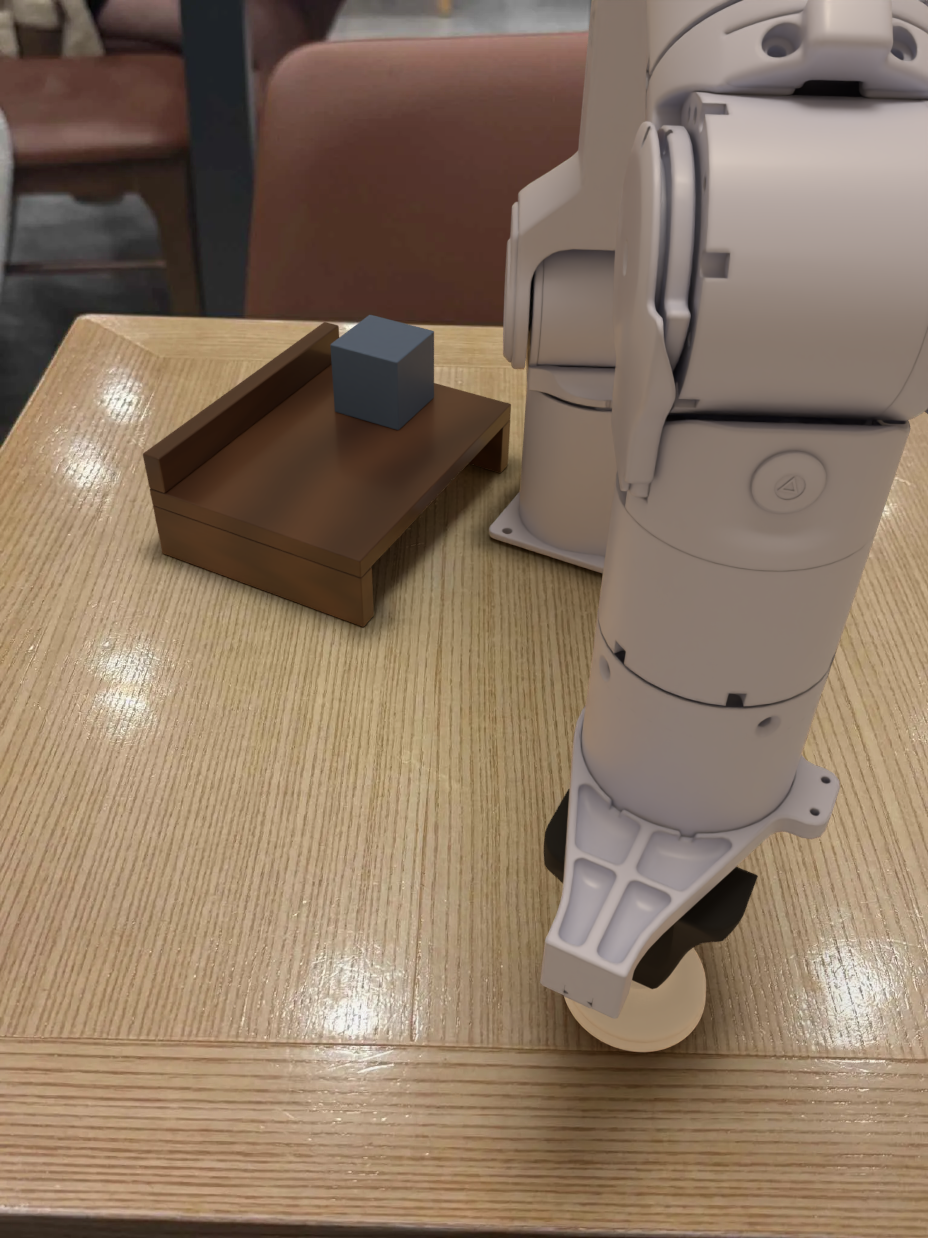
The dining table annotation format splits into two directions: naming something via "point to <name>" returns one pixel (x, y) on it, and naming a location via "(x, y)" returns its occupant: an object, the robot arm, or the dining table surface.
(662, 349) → the robot arm
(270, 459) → the shelf
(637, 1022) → the chess piece
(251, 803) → the dining table surface
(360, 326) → the blue box
